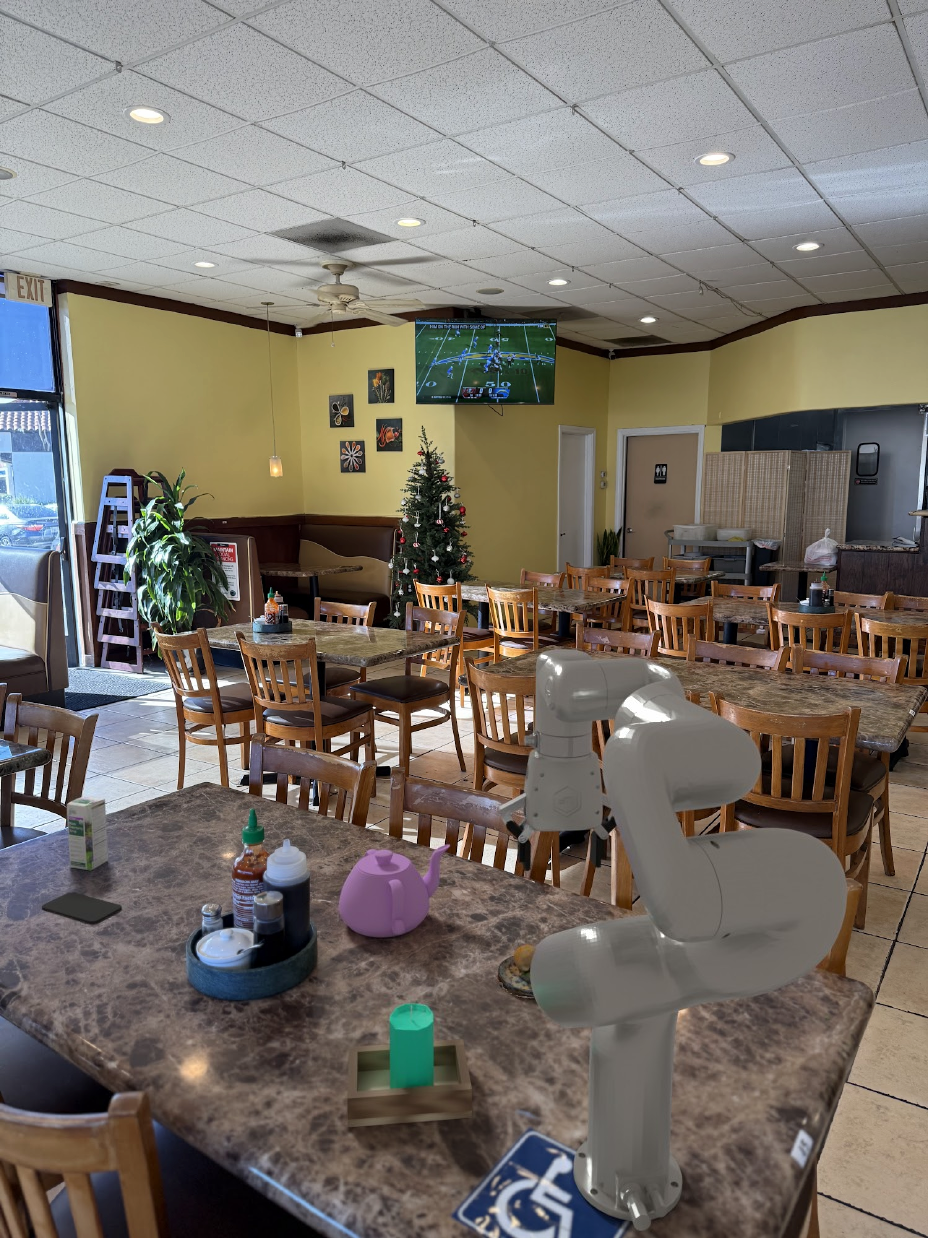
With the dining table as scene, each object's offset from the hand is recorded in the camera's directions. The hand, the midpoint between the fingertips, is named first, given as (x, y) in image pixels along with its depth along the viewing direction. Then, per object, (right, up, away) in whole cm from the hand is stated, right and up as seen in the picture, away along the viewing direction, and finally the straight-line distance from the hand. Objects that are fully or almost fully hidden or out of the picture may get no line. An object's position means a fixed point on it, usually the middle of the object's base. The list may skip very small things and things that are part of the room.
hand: (560, 865), depth 116 cm
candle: (-20, -30, -1) cm, 36 cm away
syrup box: (-95, -21, +71) cm, 121 cm away
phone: (-88, -24, +51) cm, 105 cm away
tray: (-21, -31, -1) cm, 37 cm away
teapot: (-26, -24, +47) cm, 59 cm away
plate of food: (-2, -27, +27) cm, 38 cm away
